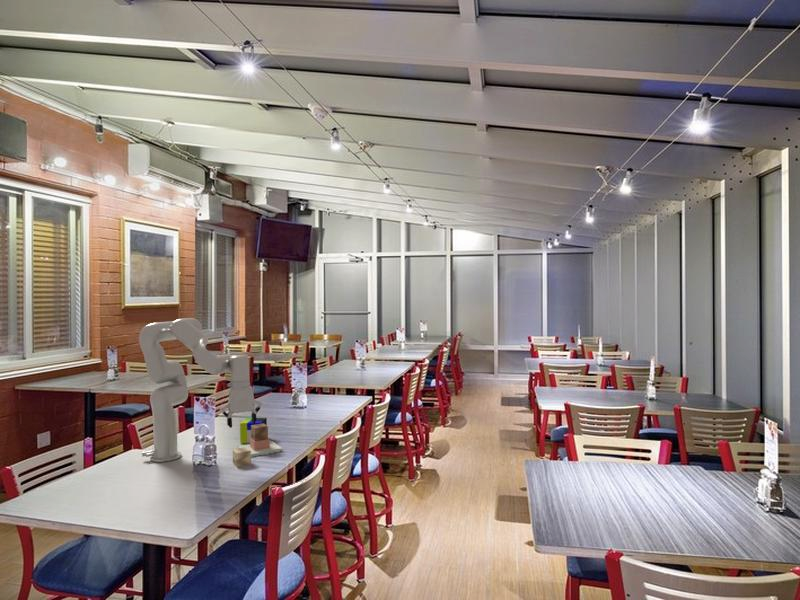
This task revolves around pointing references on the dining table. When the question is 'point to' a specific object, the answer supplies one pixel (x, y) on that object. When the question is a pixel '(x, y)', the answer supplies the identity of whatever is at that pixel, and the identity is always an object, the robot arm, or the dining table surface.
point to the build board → (261, 452)
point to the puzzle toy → (249, 428)
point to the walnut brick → (259, 432)
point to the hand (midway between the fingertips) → (242, 425)
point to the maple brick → (242, 457)
